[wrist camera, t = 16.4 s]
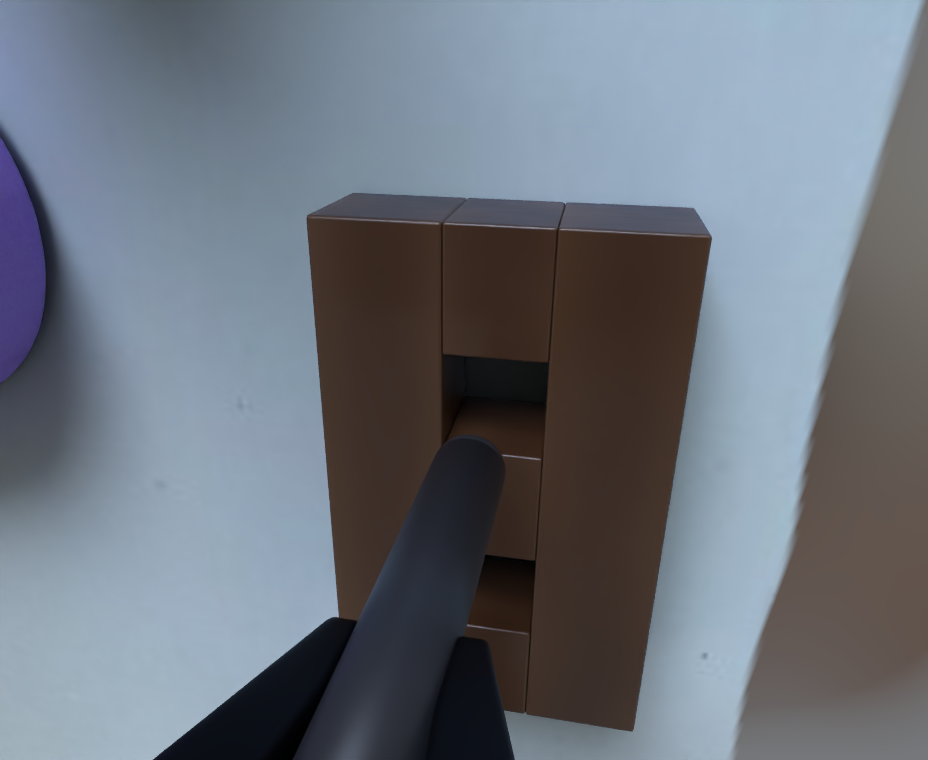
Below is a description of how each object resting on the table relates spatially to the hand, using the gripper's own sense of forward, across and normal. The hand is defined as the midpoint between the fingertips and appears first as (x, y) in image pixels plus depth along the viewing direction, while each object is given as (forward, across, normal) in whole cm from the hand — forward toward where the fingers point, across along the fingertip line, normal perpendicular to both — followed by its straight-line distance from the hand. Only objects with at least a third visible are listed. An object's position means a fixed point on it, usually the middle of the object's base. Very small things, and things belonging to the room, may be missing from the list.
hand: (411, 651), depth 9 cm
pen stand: (+10, 0, +3) cm, 11 cm away
